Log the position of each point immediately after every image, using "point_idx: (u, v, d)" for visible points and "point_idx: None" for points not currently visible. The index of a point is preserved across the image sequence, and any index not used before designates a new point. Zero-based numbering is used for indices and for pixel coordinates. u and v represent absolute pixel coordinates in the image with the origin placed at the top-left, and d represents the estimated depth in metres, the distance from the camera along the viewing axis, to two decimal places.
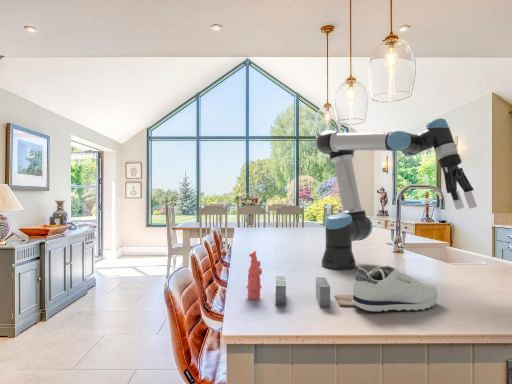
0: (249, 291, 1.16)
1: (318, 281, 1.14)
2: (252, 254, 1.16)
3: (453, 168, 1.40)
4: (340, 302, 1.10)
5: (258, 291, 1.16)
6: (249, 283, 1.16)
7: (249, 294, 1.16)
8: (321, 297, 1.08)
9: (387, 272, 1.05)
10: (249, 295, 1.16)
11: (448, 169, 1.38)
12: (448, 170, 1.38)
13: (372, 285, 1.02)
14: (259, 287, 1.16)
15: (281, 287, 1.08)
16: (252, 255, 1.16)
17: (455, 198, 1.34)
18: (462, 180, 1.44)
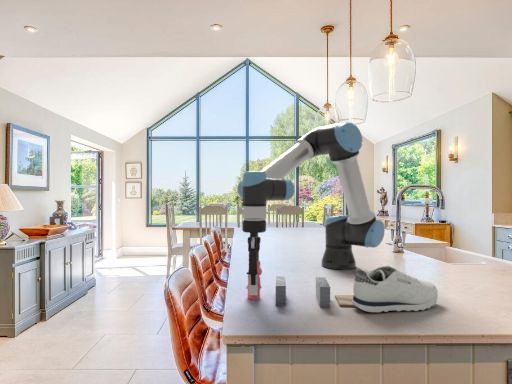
0: None
1: (318, 281, 1.14)
2: None
3: None
4: (340, 302, 1.10)
5: (258, 291, 1.16)
6: None
7: None
8: (321, 297, 1.08)
9: (387, 273, 1.05)
10: (249, 295, 1.16)
11: None
12: None
13: (372, 286, 1.01)
14: (259, 287, 1.16)
15: (281, 287, 1.08)
16: None
17: None
18: None
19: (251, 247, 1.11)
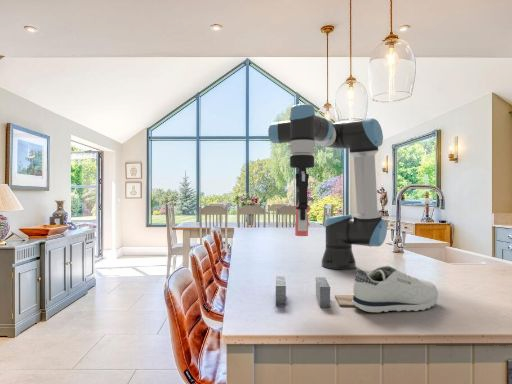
0: (297, 228, 1.13)
1: (318, 281, 1.14)
2: None
3: None
4: (340, 302, 1.10)
5: None
6: (297, 220, 1.13)
7: (297, 231, 1.13)
8: (321, 297, 1.08)
9: (387, 273, 1.05)
10: (297, 232, 1.13)
11: None
12: None
13: (372, 286, 1.01)
14: (308, 224, 1.12)
15: (281, 287, 1.08)
16: None
17: None
18: None
19: (302, 180, 1.08)
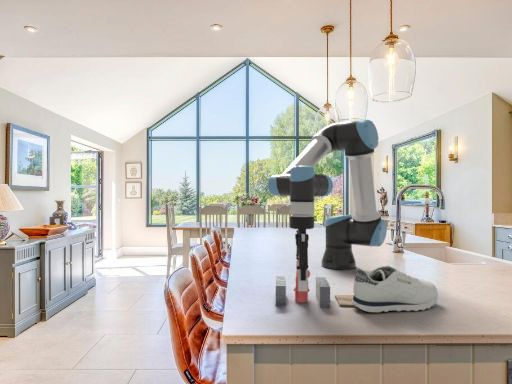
0: (297, 294, 1.13)
1: (318, 281, 1.14)
2: None
3: None
4: (340, 302, 1.10)
5: (306, 294, 1.13)
6: (297, 286, 1.13)
7: (297, 297, 1.13)
8: (321, 297, 1.08)
9: (387, 273, 1.05)
10: (297, 298, 1.13)
11: None
12: None
13: (372, 286, 1.01)
14: None
15: (281, 287, 1.08)
16: None
17: None
18: None
19: (301, 240, 1.07)
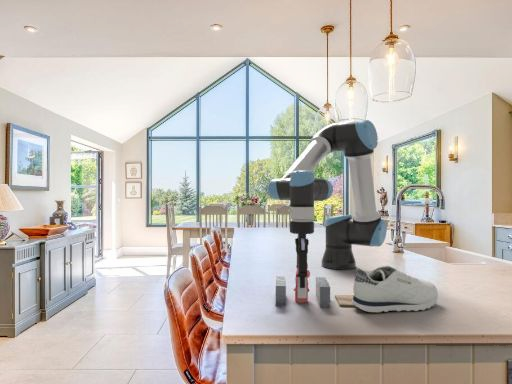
0: (297, 294, 1.13)
1: (318, 281, 1.14)
2: None
3: None
4: (340, 302, 1.10)
5: None
6: (297, 286, 1.13)
7: (297, 297, 1.13)
8: (321, 297, 1.08)
9: (387, 273, 1.05)
10: (297, 298, 1.13)
11: None
12: None
13: (372, 286, 1.01)
14: (307, 290, 1.13)
15: (281, 287, 1.08)
16: None
17: None
18: None
19: (301, 249, 1.08)
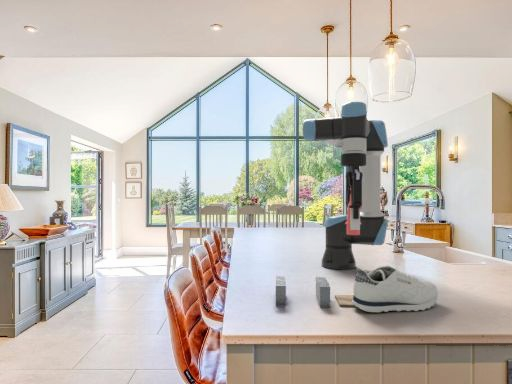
0: (349, 227, 1.12)
1: (318, 281, 1.14)
2: None
3: (348, 171, 1.15)
4: (340, 302, 1.10)
5: None
6: (349, 218, 1.12)
7: (349, 230, 1.12)
8: (321, 297, 1.08)
9: (387, 273, 1.05)
10: (349, 231, 1.12)
11: None
12: None
13: (372, 286, 1.01)
14: (360, 223, 1.12)
15: (281, 287, 1.08)
16: None
17: None
18: None
19: (356, 178, 1.07)
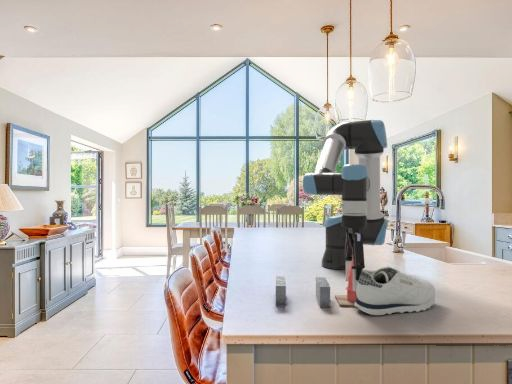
0: (350, 293, 1.12)
1: (318, 281, 1.14)
2: None
3: (348, 231, 1.15)
4: (340, 302, 1.10)
5: None
6: (350, 285, 1.12)
7: (350, 296, 1.12)
8: (321, 297, 1.08)
9: (390, 274, 1.03)
10: (350, 297, 1.12)
11: None
12: None
13: (377, 289, 1.00)
14: None
15: (281, 287, 1.08)
16: None
17: None
18: None
19: (357, 239, 1.06)
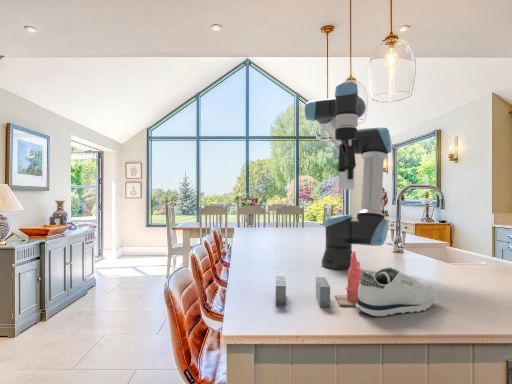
0: (350, 293, 1.12)
1: (318, 281, 1.14)
2: (353, 255, 1.12)
3: (341, 145, 1.29)
4: (340, 302, 1.10)
5: None
6: (350, 285, 1.12)
7: (350, 296, 1.12)
8: (321, 297, 1.08)
9: (391, 275, 1.03)
10: (350, 297, 1.12)
11: None
12: None
13: (379, 290, 0.99)
14: None
15: (281, 287, 1.08)
16: (353, 256, 1.12)
17: None
18: None
19: (348, 144, 1.20)
